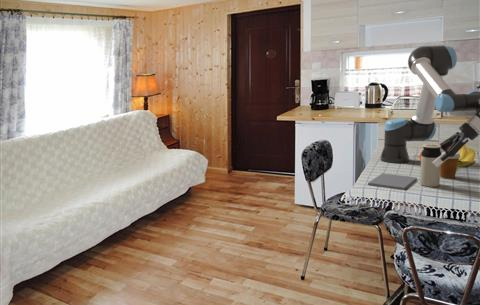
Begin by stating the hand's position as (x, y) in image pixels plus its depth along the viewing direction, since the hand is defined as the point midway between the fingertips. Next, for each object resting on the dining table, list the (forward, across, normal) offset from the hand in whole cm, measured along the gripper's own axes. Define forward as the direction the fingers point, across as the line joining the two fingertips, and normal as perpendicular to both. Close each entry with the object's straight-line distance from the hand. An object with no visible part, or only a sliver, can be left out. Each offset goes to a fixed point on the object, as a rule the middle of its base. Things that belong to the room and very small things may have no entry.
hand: (432, 161), depth 185 cm
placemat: (+19, +2, +4) cm, 19 cm away
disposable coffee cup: (+1, +16, -15) cm, 22 cm away
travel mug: (+8, +1, -8) cm, 11 cm away
